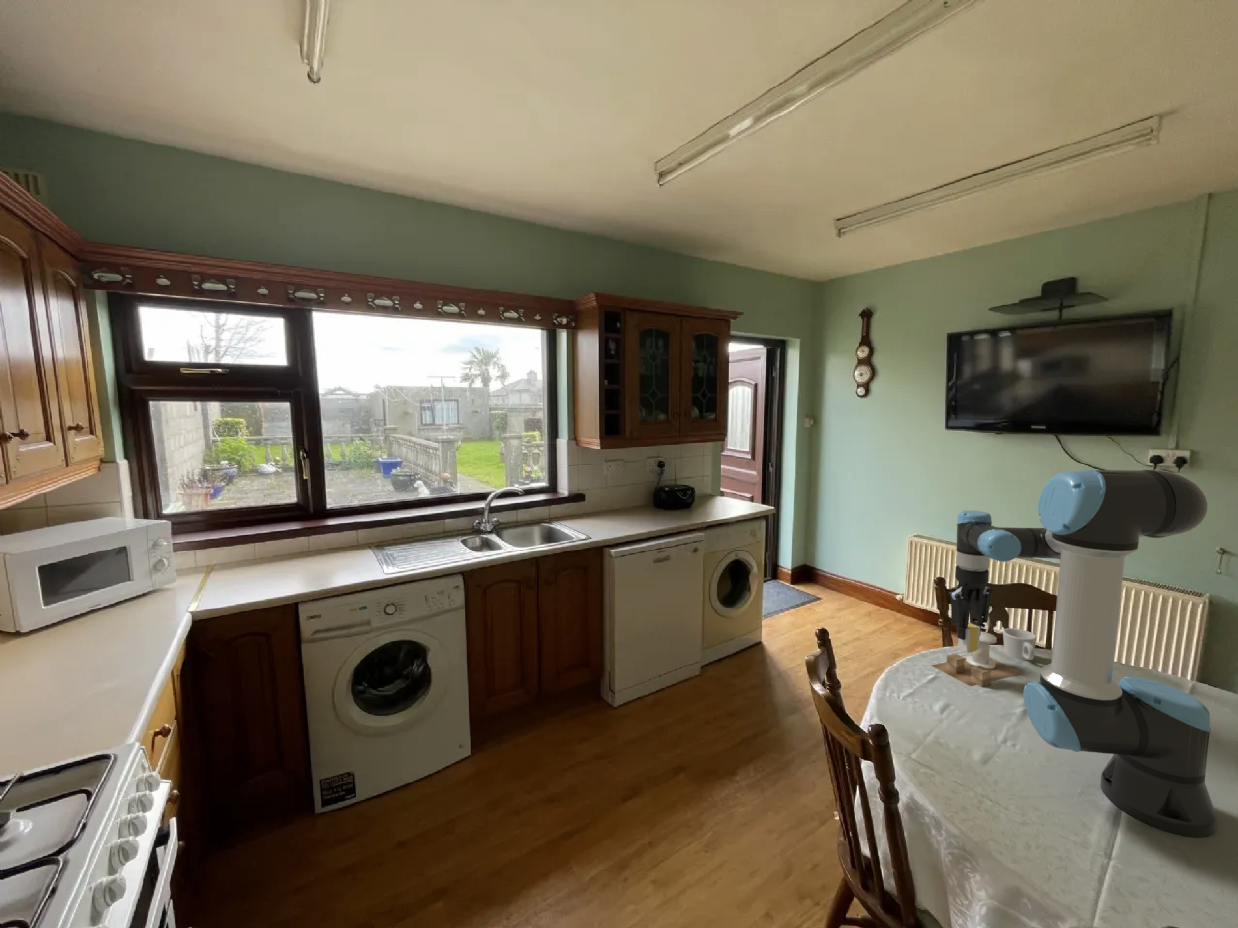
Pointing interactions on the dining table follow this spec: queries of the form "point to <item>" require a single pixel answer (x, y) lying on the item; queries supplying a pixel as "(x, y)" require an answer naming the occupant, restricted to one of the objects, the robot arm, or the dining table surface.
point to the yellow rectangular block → (973, 637)
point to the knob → (983, 652)
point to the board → (968, 671)
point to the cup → (1019, 643)
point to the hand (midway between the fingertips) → (968, 648)
